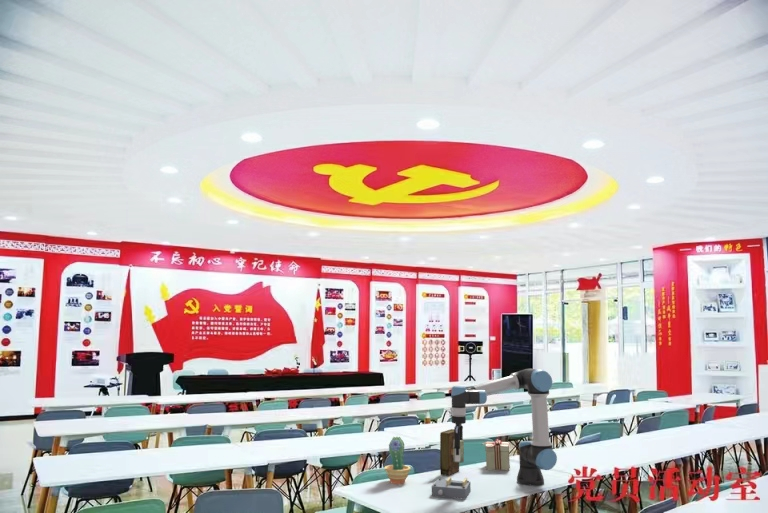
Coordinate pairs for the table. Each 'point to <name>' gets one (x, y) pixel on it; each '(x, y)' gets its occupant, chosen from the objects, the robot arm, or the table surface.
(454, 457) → the spout can
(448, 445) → the book
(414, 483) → the table surface
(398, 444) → the potted cactus
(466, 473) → the table surface
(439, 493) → the grey shallow box
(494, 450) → the gift box
